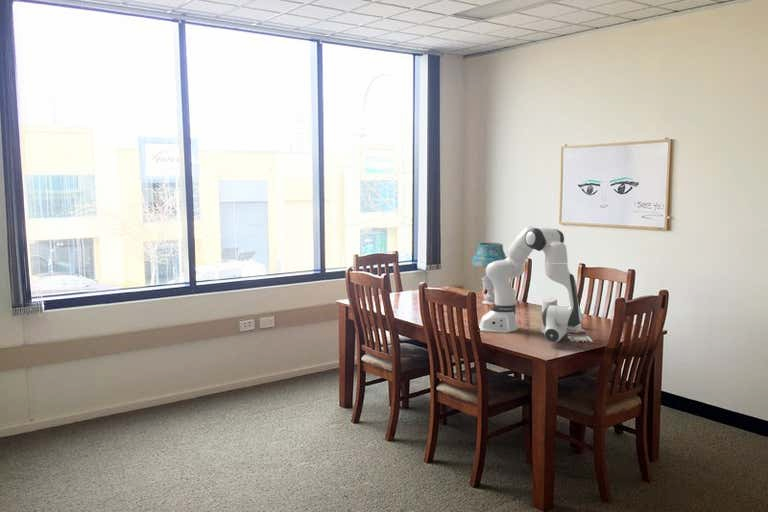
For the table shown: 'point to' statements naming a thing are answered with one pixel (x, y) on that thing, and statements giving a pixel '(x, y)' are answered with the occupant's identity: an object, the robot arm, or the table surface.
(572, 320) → the robot arm
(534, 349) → the table surface
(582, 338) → the sheet
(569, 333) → the ink pad
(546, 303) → the smart speaker
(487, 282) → the table lamp
